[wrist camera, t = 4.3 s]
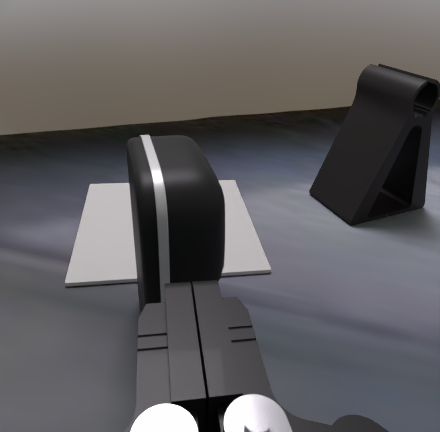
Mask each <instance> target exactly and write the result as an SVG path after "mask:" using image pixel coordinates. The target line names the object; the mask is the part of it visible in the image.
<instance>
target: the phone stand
mask: <svg viewBox="0 0 440 432" xmlns="http://www.w3.org/2000/svg"><path fill="white" fill-rule="evenodd" d="M439 98H440V83H439V82H438V81H437V80H435V79H431V78H428V77H424V76H420V75H417V74H413V73H410V72H406V71H403V70H399V69H396V68H392V67H389V66H385V65H381V64H379V65H378V66H376V65H372V64H370V65H369V66H367V67H366V68H365V69H364V70H363V71H362V73H361V75H360V77H359V79H358V83H357V91H356V96H355V99H354V101H353V104H352V106H351V108H350V110H349V112H348V114H347V116H346V118H345V120H344V122H343V124H342V126H341V128H340V130H339V132H338V134H337V136H336V138H335V140H334V142H333V144H332V146H331V148H330V150H329V152H328V154H327V156H326V158H325V160H324V162H323V164H322V167H321V169H320V171H319V173H318V175H317V177H316V179H315V181H314V183H313V185H312V187H311V189H310V191H309V193H310V194H311V195H312V196H314V197H315V198H316V199H318V200H319V201H320V202H322V203H323V204H324V205H325V206H327V207H328V208H329V209H331V210H332V211H333V212H335V213H336V214H337V215H338V216H340V217H341V218H342V219H344V220H345V221H346V222H348V223H349V224H350V225H356V224H360V223H364V222H368V221H372V220H376V219H380V218H384V217H387V215H389V216H392V215H396V214H400V213H404V212H408V211H412V210H416V209H420V208H422V207H423V206H424V204H425V193H426V181H427V170H428V158H429V146H430V134H431V123H432V117H433V113H434V110H435V108H436V105H437V103H438V101H439Z"/></svg>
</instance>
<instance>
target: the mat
mask: <svg viewBox="0 0 440 432" xmlns="http://www.w3.org/2000/svg"><path fill="white" fill-rule="evenodd" d="M219 183H220V185H221V187H222V190H223V194H224V200H225V258H224V267H223V270H222V275H221V276H231V275H246V274H261V273H271V268H270V265H269V263H268V260H267V258H266V256H265V253H264V251H263V248H262V246H261V243H260V241H259V238H258V236H257V234H256V231H255V229H254V226H253V224H252V221H251V219H250V216H249V214H248V212H247V209H246V207H245V204H244V202H243V199H242V197H241V195H240V192H239V190H238V187H237V185H236V182H235V180H219ZM127 282H137V270H136V258H135V246H134V234H133V223H132V211H131V199H130V187H129V183H112V184H90V187H89V190H88V194H87V198H86V202H85V206H84V210H83V214H82V218H81V222H80V226H79V229H78V233H77V237H76V241H75V245H74V249H73V253H72V257H71V261H70V265H69V268H68V272H67V276H66V280H65V287H67V286H82V285H97V284H112V283H127Z"/></svg>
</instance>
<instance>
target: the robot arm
mask: <svg viewBox="0 0 440 432" xmlns="http://www.w3.org/2000/svg"><path fill="white" fill-rule="evenodd" d="M125 432H388V431H387V430H386V429H384V428H383V427H382V426H380V425H379V424H377V423H376V422H374V421H373V420H371V419H368V418H366V417H363V416H359V415H347V416H343V417H341V418H339V419H338V420H336V421H335V422H334V423H333V425H327V424H322V423H318V422H313V421H308V420H304V419H301V418H298V417H296V416H294V415H292V414H290V413H289V412H287V411H286V410H285V409H284V408H283V407H282V406H281V405H280V404H279V403H278V402H277V401H276V399H275V397H274V396H273V394H272V391H271V388H270V385H269V381H268V378H267V374H266V371H265V367H264V364H263V360H262V357H261V354H260V350H259V347H258V343H257V341H256V336H255V333H254V330H253V328H252V323H251V319H250V316H249V312H248V310H247V308H246V307H245V306H244V305H243V304H242V303H241V301H240V300H239V299H238V298H237V297H230V298H222V297H221V293H220V288H219V284H218V281H217V280H209V281H194V282H192V284H190V282H181V283H166V284H165V302H164V303H151V304H146V305H145V307H144V309H143V311H142V313H141V314H140V316H139V318H138V345H137V384H136V409H135V414H134V417H133V419H132V421H131V423H130V425H129V426H128V428H127V429H126V430H125Z"/></svg>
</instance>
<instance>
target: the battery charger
mask: <svg viewBox="0 0 440 432" xmlns="http://www.w3.org/2000/svg"><path fill="white" fill-rule="evenodd" d="M127 162H128V174H129V187H130V199H131V211H132V223H133V234H134V246H135V258H136V270H137V282H138V294H139V302H140V309H141V313H142V311H143V309H144V307H145V305H146V304H151V303H164V302H165V284H166V283H181V282H190V284H192V282H194V281H209V280H217V281H219V279H220V278H221V275H222V270H223V267H224V258H225V200H224V194H223V190H222V187H221V185H220V183H219V181H218V179H217V177H216V175H215V173H214V171H213V170H212V168H211V166H210V164H209V162H208V161H207V159H206V157H205V156H204V154H203V152H202V151H201V149H200V147H199V146H198V145H197V144H196V143H195V142H194V141H193V140H192V139H191V138H189V137H187V136H179V135H174V136H154V137H150V136H149V135H140V137H135V138H131V139H129V140H128V142H127Z"/></svg>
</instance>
